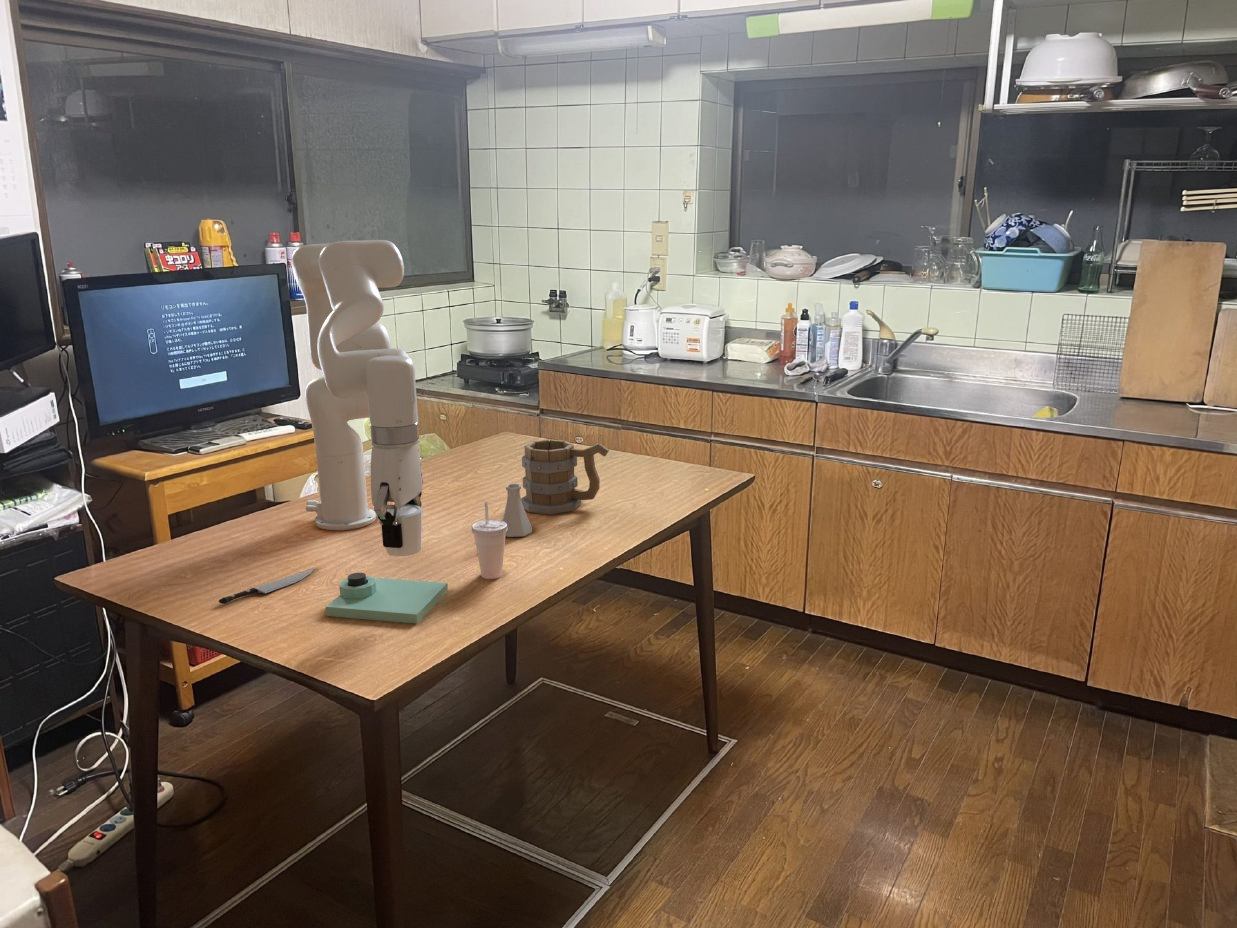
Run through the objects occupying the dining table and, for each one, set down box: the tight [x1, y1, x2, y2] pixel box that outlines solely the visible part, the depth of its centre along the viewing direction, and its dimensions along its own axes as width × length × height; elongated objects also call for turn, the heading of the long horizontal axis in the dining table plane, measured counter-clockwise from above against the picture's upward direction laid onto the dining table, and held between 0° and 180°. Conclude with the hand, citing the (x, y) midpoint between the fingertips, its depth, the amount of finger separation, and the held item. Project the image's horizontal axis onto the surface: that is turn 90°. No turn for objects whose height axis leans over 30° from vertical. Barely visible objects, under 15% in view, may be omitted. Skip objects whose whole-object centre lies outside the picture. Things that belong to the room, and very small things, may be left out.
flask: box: [500, 483, 533, 538], centre depth 187 cm, size 7×7×10 cm
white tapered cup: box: [385, 504, 423, 557], centre depth 150 cm, size 7×7×7 cm
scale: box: [325, 575, 449, 625], centre depth 154 cm, size 16×13×4 cm
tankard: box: [521, 439, 610, 516], centre depth 202 cm, size 20×13×15 cm, turn 71°
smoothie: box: [471, 500, 508, 580], centre depth 164 cm, size 6×6×14 cm
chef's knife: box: [218, 568, 314, 605], centre depth 161 cm, size 19×1×3 cm
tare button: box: [347, 572, 367, 587], centre depth 154 cm, size 3×3×2 cm
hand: (403, 538), depth 150 cm, fingers closed on white tapered cup, 6 cm apart
